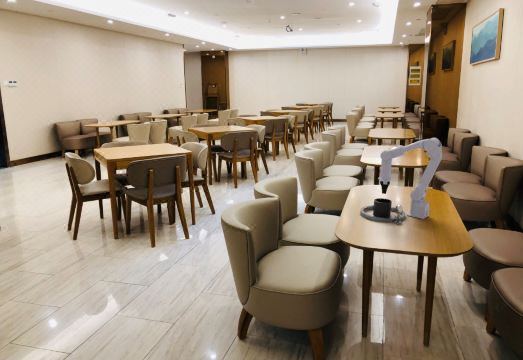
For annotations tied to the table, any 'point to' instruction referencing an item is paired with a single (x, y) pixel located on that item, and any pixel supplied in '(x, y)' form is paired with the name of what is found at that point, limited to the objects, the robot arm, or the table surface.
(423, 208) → the robot arm
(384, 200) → the mug
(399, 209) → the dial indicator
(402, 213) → the ring
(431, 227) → the table surface
